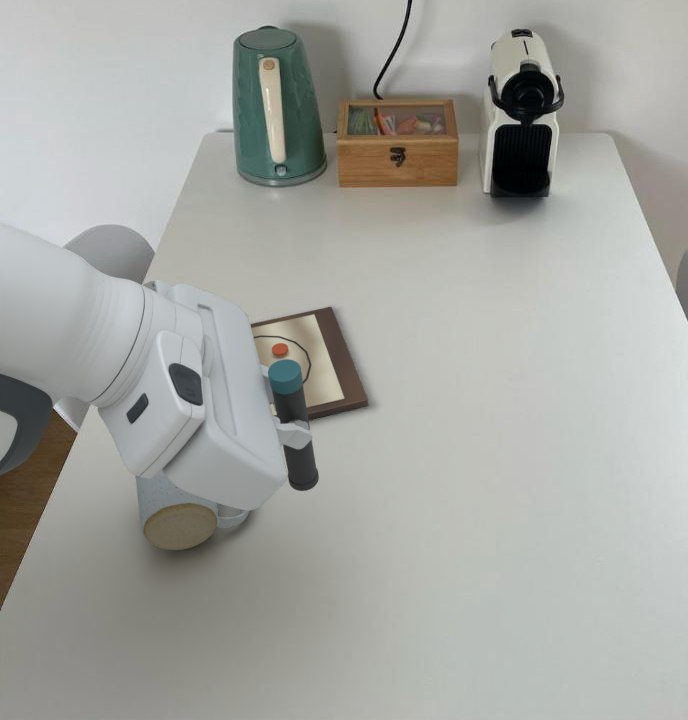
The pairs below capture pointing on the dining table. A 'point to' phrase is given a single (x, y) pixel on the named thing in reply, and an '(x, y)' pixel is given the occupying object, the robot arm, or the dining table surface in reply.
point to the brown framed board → (314, 359)
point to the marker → (289, 405)
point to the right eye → (279, 349)
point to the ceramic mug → (177, 514)
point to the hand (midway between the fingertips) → (301, 420)
